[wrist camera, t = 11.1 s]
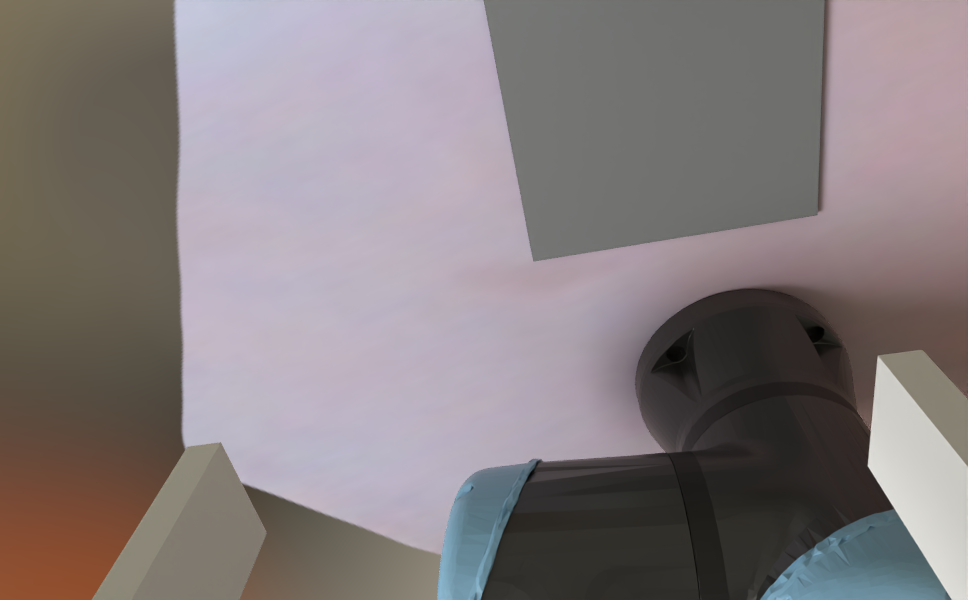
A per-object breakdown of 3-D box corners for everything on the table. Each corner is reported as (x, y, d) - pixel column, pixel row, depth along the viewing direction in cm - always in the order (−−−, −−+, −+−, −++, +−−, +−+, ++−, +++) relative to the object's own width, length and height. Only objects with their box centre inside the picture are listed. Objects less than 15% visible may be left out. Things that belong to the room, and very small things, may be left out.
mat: (815, 212, 45) (817, 215, 45) (533, 258, 48) (533, 261, 48) (825, -114, 36) (828, -115, 36) (477, -35, 39) (477, -35, 39)
